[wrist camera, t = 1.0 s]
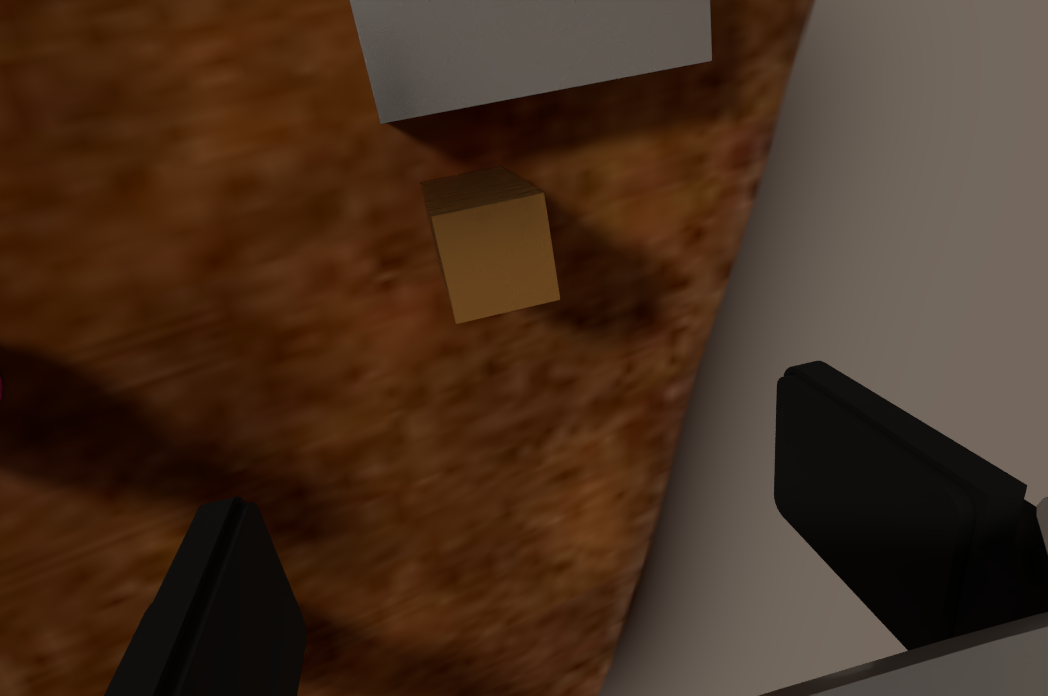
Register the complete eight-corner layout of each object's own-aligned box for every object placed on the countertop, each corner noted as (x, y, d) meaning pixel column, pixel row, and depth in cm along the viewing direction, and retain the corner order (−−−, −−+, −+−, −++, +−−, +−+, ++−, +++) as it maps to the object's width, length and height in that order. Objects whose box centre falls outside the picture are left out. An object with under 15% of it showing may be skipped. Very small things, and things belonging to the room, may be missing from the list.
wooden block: (419, 182, 28) (431, 216, 20) (501, 165, 29) (544, 193, 21) (438, 262, 30) (456, 324, 22) (515, 245, 31) (560, 299, 22)
